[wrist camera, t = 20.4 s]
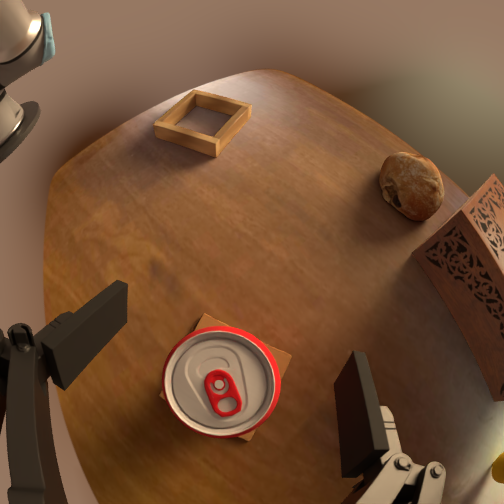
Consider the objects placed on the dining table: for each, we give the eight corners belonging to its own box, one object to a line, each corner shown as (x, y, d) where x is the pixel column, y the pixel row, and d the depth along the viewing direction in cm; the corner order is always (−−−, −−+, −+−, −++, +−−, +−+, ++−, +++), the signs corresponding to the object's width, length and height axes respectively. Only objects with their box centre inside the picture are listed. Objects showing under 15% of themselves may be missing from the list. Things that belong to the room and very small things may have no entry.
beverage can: (246, 336, 24) (258, 301, 13) (271, 398, 22) (306, 417, 11) (180, 357, 23) (137, 341, 12) (204, 421, 20) (181, 459, 10)
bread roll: (361, 191, 38) (367, 168, 30) (401, 150, 36) (412, 123, 29) (408, 239, 35) (427, 226, 27) (446, 194, 34) (466, 174, 26)
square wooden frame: (155, 137, 35) (152, 124, 32) (194, 101, 39) (193, 89, 37) (216, 158, 33) (215, 143, 31) (250, 117, 38) (251, 104, 35)
